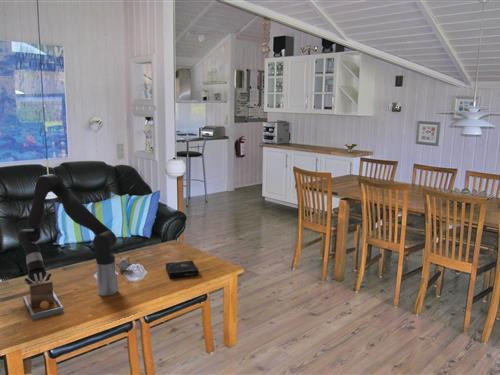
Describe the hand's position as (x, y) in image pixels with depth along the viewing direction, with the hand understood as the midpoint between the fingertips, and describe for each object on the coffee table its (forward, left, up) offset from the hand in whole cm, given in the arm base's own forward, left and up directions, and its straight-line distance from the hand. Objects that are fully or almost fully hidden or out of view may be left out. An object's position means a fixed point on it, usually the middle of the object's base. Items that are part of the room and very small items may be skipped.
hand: (41, 293), depth 222 cm
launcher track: (+1, -1, -5) cm, 5 cm away
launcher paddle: (-1, +1, -5) cm, 5 cm away
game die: (-21, -48, -5) cm, 52 cm away
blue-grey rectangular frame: (-8, +8, -5) cm, 12 cm away
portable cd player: (-55, -53, -5) cm, 77 cm away
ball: (-5, +5, -3) cm, 8 cm away
